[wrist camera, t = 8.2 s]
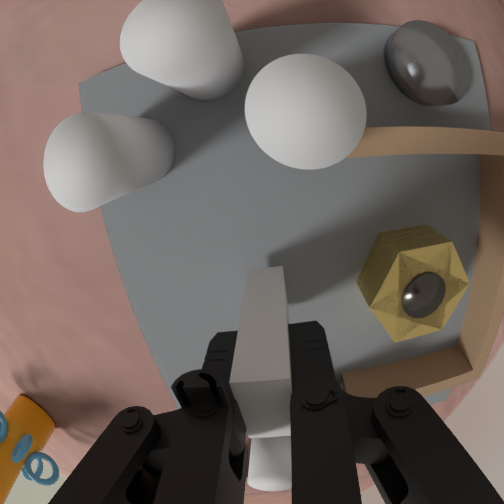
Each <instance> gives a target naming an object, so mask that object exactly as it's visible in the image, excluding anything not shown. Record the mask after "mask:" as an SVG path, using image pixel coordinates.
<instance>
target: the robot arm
mask: <svg viewBox="0 0 504 504" xmlns="http://www.w3.org/2000/svg"><path fill="white" fill-rule="evenodd" d="M171 389H172V390H173V392H174V394H175V396H176V398H177V400H178V402H179V404H180V406H181V408H180V409H178V410H175V411H171V412H167V413H162V414H157V415H152V413H151V412H150V410H148V409H146V408H145V407H140V406H133V407H128V408H126V409H124V410H122V411H120V412H119V413H118V414H117V415H116V416H115V417H114V419H113V420H112V421H111V422H110V424H109V425H108V426H107V428H106V429H105V430H104V432H103V433H102V434H101V435H100V437H99V438H98V439H97V441H96V442H95V443H94V444H93V446H92V447H91V448H90V450H89V451H88V452H87V454H86V455H85V456H84V457H83V459H82V460H81V461H80V463H79V464H78V465H77V467H76V468H75V469H74V470H73V472H72V473H71V474H70V476H69V477H68V478H67V480H66V481H65V482H64V483H63V485H62V486H61V488H60V489H59V490H58V491H57V493H56V494H55V495H54V497H53V498H52V499H51V500H50V502H49V503H48V504H243V503H244V492H245V481H246V470H247V458H248V451H247V446H246V444H245V438H246V432H247V434H248V437H249V438H265V437H280V436H291V471H292V504H362V502H361V494H360V488H359V481H358V475H357V469H356V463H362V464H365V466H366V468H367V470H368V471H369V473H370V475H371V477H372V479H373V481H374V483H375V485H376V487H377V488H378V490H379V492H380V494H381V496H382V498H383V500H384V502H385V504H504V501H503V500H502V498H501V497H500V496H499V494H498V493H497V491H496V490H495V488H494V487H493V486H492V484H491V483H490V482H489V480H488V479H487V478H486V476H485V475H484V474H483V472H482V471H481V470H480V468H479V467H478V465H477V464H476V463H475V462H474V460H473V459H472V458H471V456H470V455H469V454H468V452H467V451H466V450H465V449H464V447H463V446H462V445H461V443H460V442H459V441H458V440H457V438H456V437H455V436H454V435H453V433H452V432H451V431H450V429H449V428H448V427H447V426H446V424H445V423H444V422H443V421H442V419H441V418H440V417H439V416H438V414H437V413H436V412H435V411H434V409H433V408H432V407H431V406H430V405H429V403H428V402H427V401H426V400H425V398H424V397H423V396H422V395H421V394H420V393H419V392H418V391H416V390H415V389H413V388H410V387H407V386H394V387H391V388H387V389H386V390H384V391H383V392H381V393H380V394H379V395H378V397H377V398H367V397H358V396H353V395H351V394H348V393H346V392H345V391H343V390H342V389H341V388H340V387H339V385H338V383H337V381H336V377H335V373H334V368H333V364H332V359H331V355H330V350H329V346H328V342H327V338H326V333H325V329H324V327H323V326H321V325H320V324H319V323H318V322H317V321H316V320H315V321H308V322H301V323H293V324H290V316H289V309H288V301H287V294H286V286H285V279H284V272H283V266H276V267H269V268H261V269H254V270H248V275H247V281H246V287H245V293H244V298H243V304H242V310H241V316H240V322H239V328H238V331H227V332H217V333H216V335H215V336H214V337H213V338H212V339H211V340H210V342H209V345H208V349H207V354H206V356H205V359H204V363H203V366H202V369H198V370H192V371H189V372H187V373H184V374H182V375H181V376H180V377H178V378H177V379H176V380H175V381H174V383H173V384H172V386H171Z"/></svg>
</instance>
